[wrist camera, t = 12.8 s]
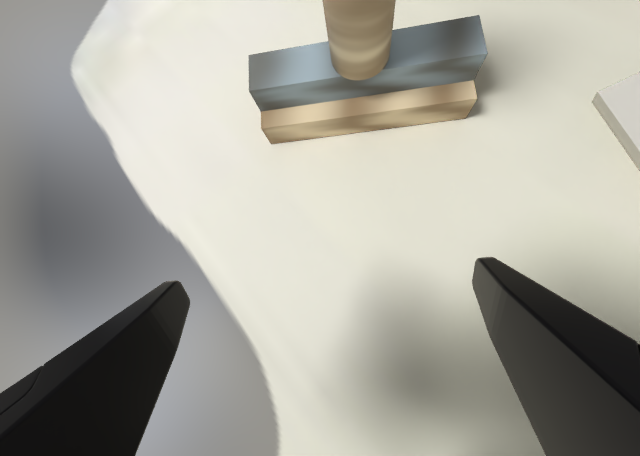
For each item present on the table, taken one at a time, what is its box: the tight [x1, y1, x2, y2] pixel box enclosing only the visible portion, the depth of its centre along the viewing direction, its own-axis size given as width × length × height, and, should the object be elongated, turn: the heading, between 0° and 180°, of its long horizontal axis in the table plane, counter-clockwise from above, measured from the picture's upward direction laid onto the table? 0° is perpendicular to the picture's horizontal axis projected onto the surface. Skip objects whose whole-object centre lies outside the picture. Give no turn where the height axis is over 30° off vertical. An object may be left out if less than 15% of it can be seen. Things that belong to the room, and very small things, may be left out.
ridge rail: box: [249, 15, 488, 144], centre depth 23 cm, size 16×6×5 cm, turn 94°
